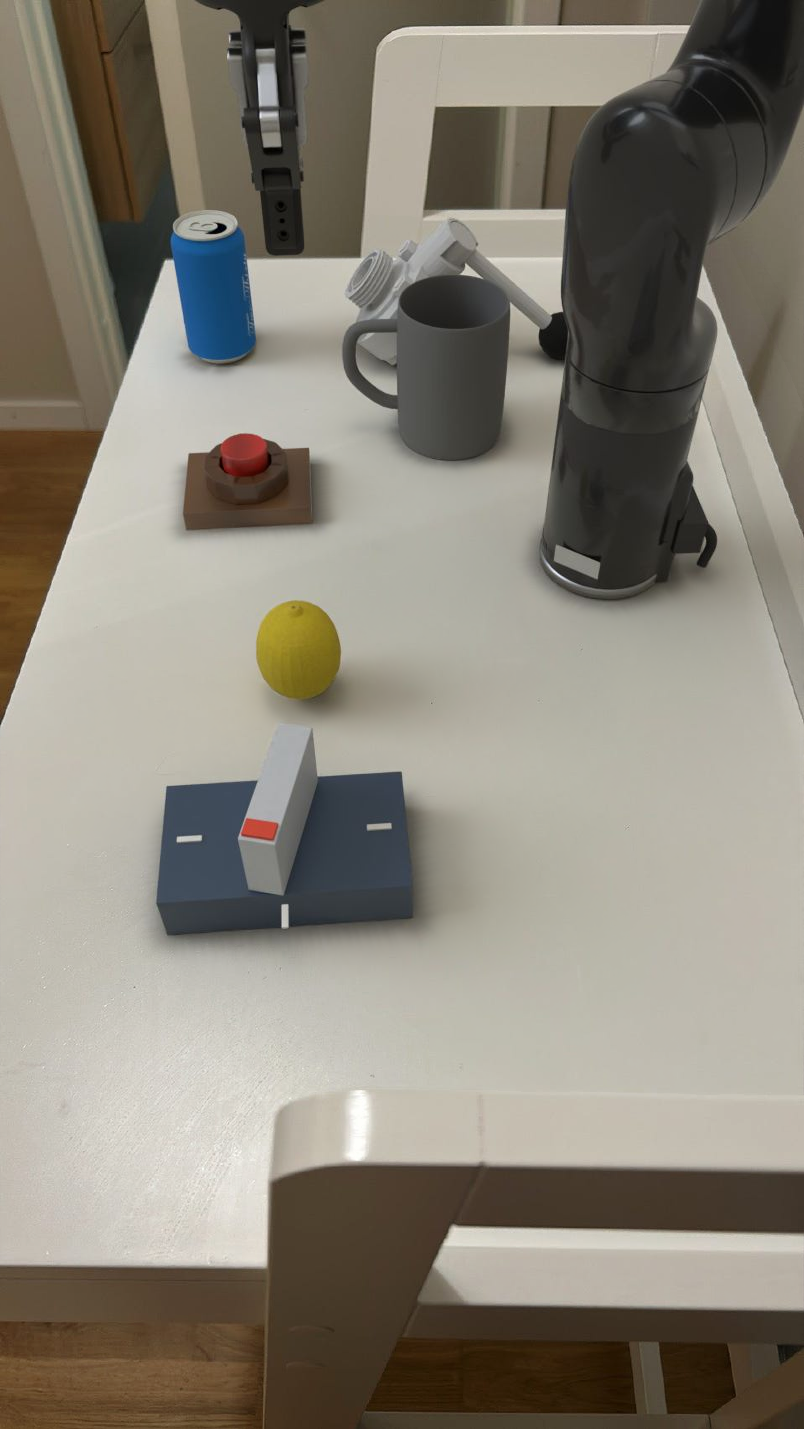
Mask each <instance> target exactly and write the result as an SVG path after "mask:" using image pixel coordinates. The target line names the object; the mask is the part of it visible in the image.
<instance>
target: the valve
mask: <svg viewBox="0 0 804 1429" xmlns="http://www.w3.org/2000/svg"><path fill="white" fill-rule="evenodd" d="M478 246H479V241H478V240H477V237H476V236H475V235H474V233H473V232H472V231H471V229H470V228H469V227H468V226H467V225H466V224H465V223H464V222H462V220H460V219H457V218H455V217H447V218H446V219H444V220H443V222H442V223H440V225H439V226H438V227H437V228H436V229H435V230H434V231H433V232H432V234H431V235H429V237H428V238H427V239H426V240H425V241H424V242H423V243H420V242H419V243H416V242H414V241H413V240H412V239H411V238H408V239H406V240H405V241H404V242H403V243H402V244H401V245H400V247H399V250H398V251H397V257H396V258H395V259H394V258H393V257H391V256H390V254H388V253H387V252H386V251H384V250H383V248H376V249H373V250H372V251H371V252H369V253H368V254H367V256H365V258H363V260H362V261H361V262H360V263H359V265H358V267H356V269H355V270H354V272H353V274H352V275H351V277H350V279H349V281H348V283H347V285H346V287H345V292H344V297H345V298H346V299H348V300H349V301H350V302H351V303H353V304H355V306H357V307H358V308H359V312H358V314H357V316H356V319H355V322H354V323H356V322H359V321H363V320H371V319H397V310H398V300H399V297H400V295H401V293H402V292H403V290H404V289H405V288H406V287H408V286H409V285H411V284H412V283H414V282H416V281H419V280H421V279H424V278H428V277H432V276H438V275H452V274H454V275H462V273H463V272H464V271H465V269H466V265H467V266H468V267H469V268H470V269H471V270H473V272H475V273H476V275H478V276H480V278H482V279H485V280H488V281H490V282H492V283H494V284H496V285H498V286H499V287H500V288H502V289H503V290H504V291H505V292H506V294H507V295H508V297H509V301H510V304H512V305H513V306H514V307H515V308H516V309H517V310H518V311H520V313H522V314H523V315H524V316H525V317H526V318H527V319H529V321H531V322H532V323H533V324H534V325H536V326H537V327H538V329H539V330H538V334H537V336H538V344H539V346H540V348H541V349H542V351H543V353H544V354H545V355H547V356H549V357H551V358H552V359H557V360H562V359H565V356H566V348H567V340H568V328H567V324H566V321H565V317H564V314H563V311H558V312H554V313H552V314H550V313H549V312H547V311H546V309H544V308H543V307H542V306H541V305H539V304H538V303H537V302H536V301H535V300H534V299H533V297H531V296H529V295H528V293H526V292H525V291H524V290H523V289H522V288H520V287H519V286H518V285H517V283H515V282H513V281H512V280H511V279H510V278H509V277H508V276H507V275H506V274H505V273H503V271H501V270H500V269H499V268H498V267H496V265H495V264H494V263H492V262H491V261H490V260H489V259H487V258H486V257H485V256H484V255H483V254H482V253H481V252H480V251H479V250H477V247H478ZM357 344H358V345H360V346H361V347H362V348H364V350H366V351H368V352H369V353H370V354H372V355H373V356H374V357H376V358H377V359H378V360H380V361H385V362H386V363H388V364H389V365H391V366H395V365H397V332H393V333H365V334H362V335H361V336H360V337H359V339H358V341H357Z"/></svg>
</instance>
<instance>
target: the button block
mask: <svg viewBox="0 0 804 1429" xmlns="http://www.w3.org/2000/svg"><path fill="white" fill-rule="evenodd" d="M263 439H264V440H265V442H266V445H267V454H268V462H269V463H268V467H267V469H266V470H265V471H264V472H262V473H260V474H257V475H255V476H250V477H236V476H233V475H230V474H228V473H227V472H226V471H225V470H224V468H223V462H222V456H221V445H222V443H223V442H221V443H218V444H216V445H215V446H214V447H213V448H212V449H211V450H210V451H208V452H206V451H205V452H189V453H188V455H187V464H186V477H185V486H184V487H185V488H184V496H183V497H184V498H183V507H182V508H183V509H182V517H183V522H184V528H185V530H186V531H197V530H198V531H200V530H216V529H217V530H219V529H236V528H239V529H241V528H253V527H254V528H257V527H277V526H278V527H279V526H299V525H312V524H313V501H312V496H313V495H312V469H311V468H312V467H311V454H310V453H311V452H310V448H309V447H295V448H294V447H292V448H282V447H281V446H280V445H279V444H278V443H277V442H276V441H273V440H270V439H266V438H263Z"/></svg>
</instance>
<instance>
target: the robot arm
mask: <svg viewBox="0 0 804 1429" xmlns="http://www.w3.org/2000/svg"><path fill="white" fill-rule="evenodd" d="M194 1H195V2H196V3H197V4H200V5H202V6H204V7H205V8H209V9H213V10H217V11H220V10H226V11H229V12H231V13H233V14H235V15H236V16H237V18H238V20H239V25H240V26H239V27H240V29H229V30H228V43H229V46H227V47H226V54H227V66H228V74H229V82H230V86H231V88H232V89H233V91H235V94H236V99H237V108H238V116H239V124H240V133H241V141H242V144H243V145H244V146H245V147H246V148H247V149H248V155H249V161H250V168H251V173H250V176H251V184H254V190H255V192H259V196H260V206H261V215H262V216H261V217H262V224H263V234H264V245H265V250H266V252H267V253H268V254H269V255H270V256H273V257H274V256H275V257H277V256H297V255H300V254H302V253H303V252H304V250H305V228H304V216H303V203H302V188H303V183H302V182H305V175H304V174H305V173H304V169H302V168H304V157H303V156H301V148H303V147H304V146H305V145H306V144H307V142H308V119H307V102H306V101H307V100H306V89H307V87H308V85H309V82H310V80H309V78H310V77H309V65H308V64H309V63H308V62H309V60H308V43H307V29H306V28H307V27H295V28H294V27H292V25H291V24H290V13H291V11H293V10H295V9H297V8H299V7H304V8H309V7H313V6H317V5H318V4H321V3H322V2H324V1H325V0H194ZM803 110H804V0H699V3H698V6H697V8H696V10H695V13H694V16H693V18H692V20H691V23H690V24H689V27H688V30H687V32H686V34H685V36H684V39H683V40H682V43H681V45H680V47H679V49H678V52H677V53H676V56H675V57H674V59H673V61H672V62H671V65H669V68H668V69H667V70H666V72H664V73H663V74H662V73H661V75H658V76H656V77H653V78H652V79H649V80H647V81H645V82H643V83H641V84H639V85H637V86H634V87H632V88H630V89H628V90H626V91H624V92H621V93H620V94H618V95H615V96H614V97H613V98H611V99H610V100H607V101H606V102H605V103H604V104H602V105H601V106H599V108H598V109H596V111H595V112H594V113H593V114H592V115H591V117H590V118H589V119H588V121H587V123H586V124H585V126H584V128H583V130H582V132H581V134H580V136H579V139H578V141H577V144H576V146H575V149H574V154H573V157H572V161H571V166H570V170H569V176H568V182H567V183H568V185H567V190H566V191H567V192H566V203H565V212H564V213H565V216H564V232H563V244H562V261H561V262H562V263H561V276H560V301H561V308H562V312H563V314H564V317H565V321H566V324H567V328H568V340H567V348H566V356H565V358H564V365H563V373H562V380H561V388H560V389H561V390H560V397H559V405H558V413H557V421H556V428H555V435H554V436H555V437H554V443H553V444H554V445H553V451H552V460H551V467H550V474H549V475H550V476H549V483H548V490H547V497H546V498H547V499H546V505H545V506H546V507H545V514H544V523H543V527H542V532H541V538H540V543H539V551H538V556H539V561H540V565H541V567H542V569H543V570H544V572H545V573H546V574H547V576H548V577H549V578H550V579H551V580H552V581H553V582H554V583H555V584H557V585H559V586H560V587H562V588H563V589H566V590H567V591H570V592H572V593H575V594H577V595H581V596H585V597H587V598H592V599H593V598H594V599H601V600H602V599H604V600H615V599H622V598H623V599H625V598H628V597H631V596H635V595H637V594H640V593H642V592H644V591H646V590H648V589H649V588H651V587H652V586H653V585H654V584H656V583H665V582H668V581H669V579H670V575H671V572H672V569H673V568H672V567H673V563H674V560H675V555H678V554H679V555H681V554H700V555H699V557H698V558H697V561H696V563H695V565H696V566H697V567H699V568H703V569H704V568H707V566H708V564H709V562H710V560H711V559H712V557H713V555H714V553H715V551H716V549H717V546H718V536H717V532H716V530H715V529H714V527H713V526H712V525H711V524H710V523H709V521H708V518H707V515H706V513H705V511H704V508H703V506H702V504H701V502H700V499H699V496H698V494H697V492H696V490H695V487H694V473H693V470H692V468H691V466H690V463H689V460H688V458H689V455H690V451H691V446H692V441H693V438H694V434H695V429H696V426H697V421H698V417H699V413H700V408H701V405H702V400H703V396H704V393H705V388H706V384H707V380H708V375H709V371H710V368H711V364H712V362H713V356H714V352H715V348H716V344H717V337H718V322H717V318H716V316H715V314H714V312H713V310H712V309H711V307H710V306H709V305H708V304H707V303H706V302H705V301H703V300H702V299H700V298H699V297H698V293H699V288H700V282H701V276H702V271H703V266H704V261H705V256H706V252H707V249H708V246H709V245H711V244H713V243H714V242H715V241H717V240H719V239H720V238H722V237H724V236H725V235H727V234H729V233H731V232H732V231H733V230H734V229H736V228H737V227H739V226H740V225H741V224H743V223H744V222H745V221H746V220H748V219H749V218H750V217H752V215H753V214H754V213H755V212H756V210H758V208H759V207H760V205H761V204H762V203H763V202H764V201H765V200H766V198H767V197H768V195H769V194H770V192H771V191H772V189H773V187H774V185H775V183H776V181H777V179H778V177H779V174H780V173H781V171H782V169H783V165H784V163H785V161H786V158H787V156H788V152H789V150H790V147H791V144H792V143H793V139H794V136H795V133H796V130H797V128H798V125H799V122H800V120H801V117H802V114H803ZM704 540H705V545H704V548H703V550H702V547H703V544H704Z"/></svg>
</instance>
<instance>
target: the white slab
mask: <svg viewBox="0 0 804 1429" xmlns="http://www.w3.org/2000/svg"><path fill="white" fill-rule="evenodd" d="M313 730H314V729H313V727H312V726H308V725H307V726H306V725H300V724H299V725H298V724H293V723H286V722H277V724H276V728H275V730H274V733H273V735H272V739H271V742H270V744H269V748H268V750H267V754H266V756H265V759H264V762H263V765H262V768H261V769H260V770H261V771H260V773H259V777H258V779H257V780H258V782H257V785H256V788H255V791H254V793H253V796H252V799H251V802H250V805H249V808H248V811H247V814H246V817H245V819H244V822H243V825H242V828H241V831H240V834H239V837H238V842H239V847H240V851H241V856H242V861H243V865H244V870H245V874H246V879H247V884H248V888H249V890H252V891H258V892H265V893H271V894H277V895H284V893H285V889H286V886H287V883H288V879H289V876H290V873H291V869H292V866H293V863H294V859H295V856H296V853H297V849H298V846H299V843H300V839H301V836H302V833H303V830H304V826H305V823H306V820H307V816H308V813H309V810H310V806H311V803H312V800H313V796H314V793H315V790H316V786H317V783H318V777H319V776H318V770H317V769H318V768H317V758H316V757H317V756H316V749H315V739H314V731H313Z"/></svg>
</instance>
